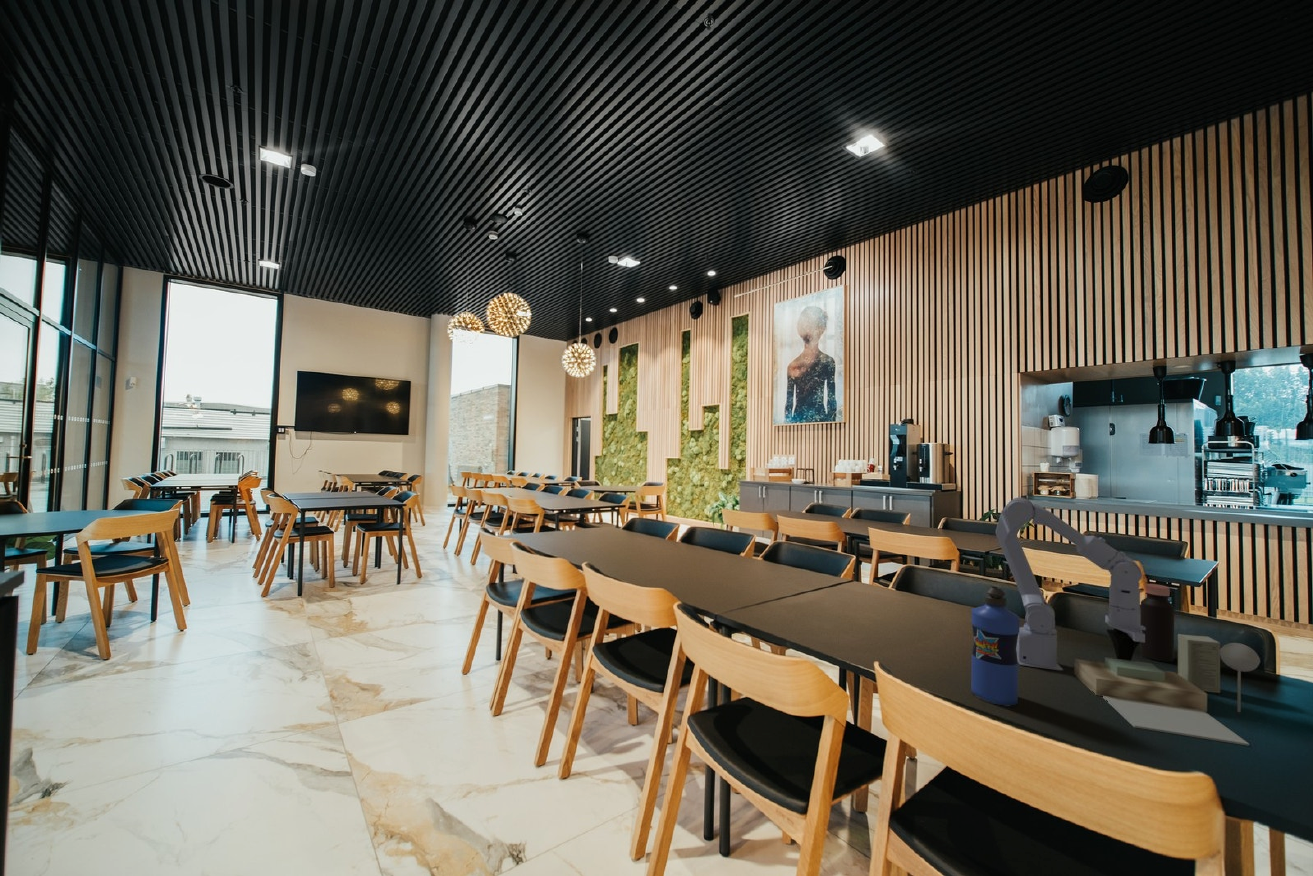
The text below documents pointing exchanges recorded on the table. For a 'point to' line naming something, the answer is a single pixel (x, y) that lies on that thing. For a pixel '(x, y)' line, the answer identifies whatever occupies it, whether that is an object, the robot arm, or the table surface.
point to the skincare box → (1199, 661)
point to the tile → (1134, 669)
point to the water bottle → (995, 650)
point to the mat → (1173, 720)
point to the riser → (1141, 686)
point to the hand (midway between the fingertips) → (1123, 661)
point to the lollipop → (1239, 662)
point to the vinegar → (1157, 624)
